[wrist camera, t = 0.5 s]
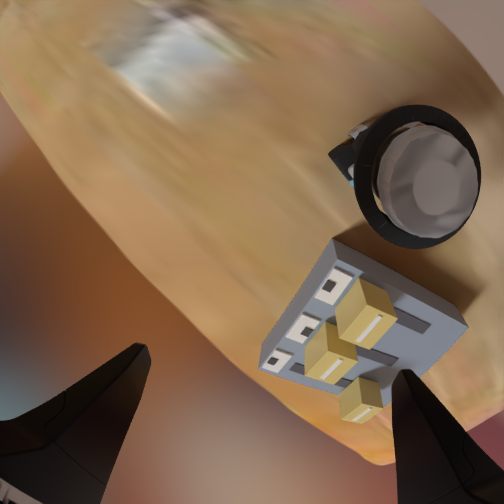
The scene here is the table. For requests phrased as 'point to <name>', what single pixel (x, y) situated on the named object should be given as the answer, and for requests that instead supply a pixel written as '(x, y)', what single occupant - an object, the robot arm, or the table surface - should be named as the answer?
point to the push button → (413, 174)
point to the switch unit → (369, 361)
